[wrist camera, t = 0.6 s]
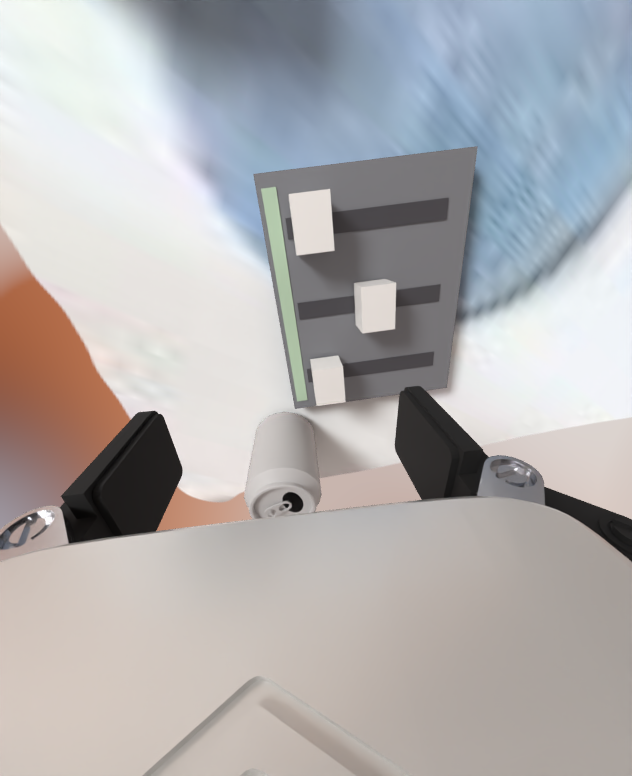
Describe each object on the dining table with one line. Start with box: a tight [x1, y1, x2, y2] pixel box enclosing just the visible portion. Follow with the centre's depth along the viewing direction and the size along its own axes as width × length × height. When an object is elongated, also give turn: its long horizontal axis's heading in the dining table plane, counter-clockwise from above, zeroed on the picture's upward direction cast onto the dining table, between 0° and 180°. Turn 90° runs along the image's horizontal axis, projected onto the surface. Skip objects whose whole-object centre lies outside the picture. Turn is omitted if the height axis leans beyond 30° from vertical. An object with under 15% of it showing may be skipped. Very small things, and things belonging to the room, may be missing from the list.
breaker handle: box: [354, 279, 396, 333], centre depth 25 cm, size 3×4×3 cm
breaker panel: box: [254, 147, 477, 409], centre depth 26 cm, size 18×22×5 cm
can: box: [244, 412, 321, 519], centre depth 30 cm, size 8×8×12 cm
